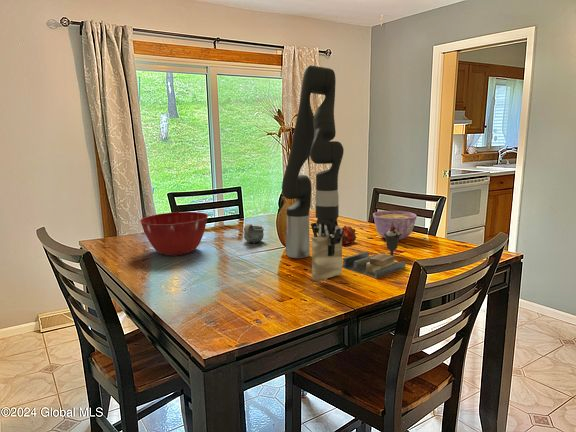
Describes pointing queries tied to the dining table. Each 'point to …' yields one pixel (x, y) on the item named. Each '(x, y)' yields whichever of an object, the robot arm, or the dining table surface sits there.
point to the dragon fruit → (348, 235)
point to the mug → (253, 233)
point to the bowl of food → (394, 222)
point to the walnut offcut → (381, 259)
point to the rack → (360, 260)
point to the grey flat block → (373, 268)
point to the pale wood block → (325, 259)
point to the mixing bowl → (175, 231)
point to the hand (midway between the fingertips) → (327, 254)
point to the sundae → (392, 239)
